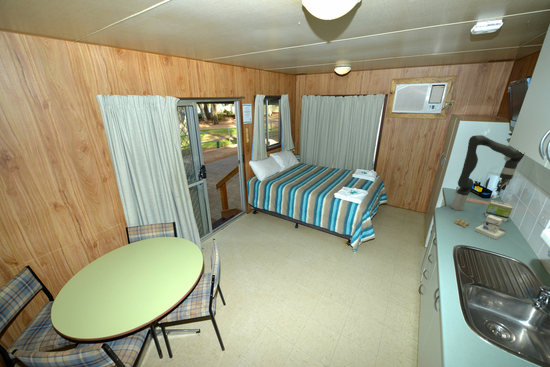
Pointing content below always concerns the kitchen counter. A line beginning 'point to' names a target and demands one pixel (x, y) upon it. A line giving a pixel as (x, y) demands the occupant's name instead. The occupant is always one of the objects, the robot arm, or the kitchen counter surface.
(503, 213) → the tea box
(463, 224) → the pallet
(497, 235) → the dock
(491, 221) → the ink box
